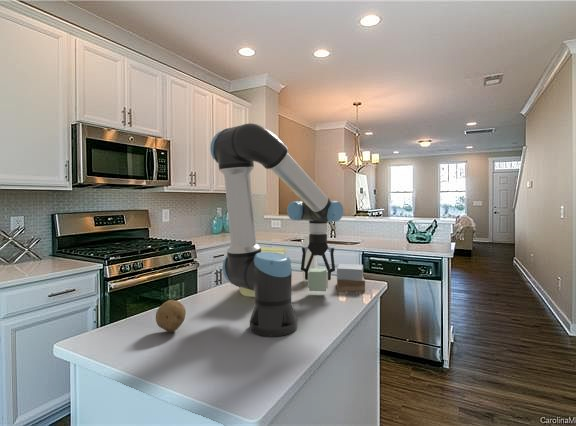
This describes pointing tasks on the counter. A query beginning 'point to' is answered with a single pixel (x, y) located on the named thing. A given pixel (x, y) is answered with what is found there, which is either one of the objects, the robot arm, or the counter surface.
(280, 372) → the counter surface
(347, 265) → the tower top
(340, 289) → the tower base
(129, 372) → the counter surface
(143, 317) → the counter surface
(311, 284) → the sage block
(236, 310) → the counter surface
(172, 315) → the potato
